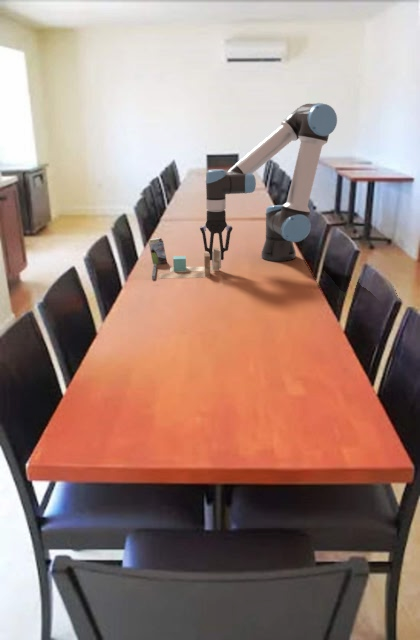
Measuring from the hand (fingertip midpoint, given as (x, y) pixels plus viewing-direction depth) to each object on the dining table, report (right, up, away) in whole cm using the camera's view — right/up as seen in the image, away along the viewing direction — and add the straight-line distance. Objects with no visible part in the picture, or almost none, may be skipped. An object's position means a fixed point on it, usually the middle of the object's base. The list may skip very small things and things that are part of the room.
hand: (216, 267), depth 231 cm
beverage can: (-25, +2, +11) cm, 27 cm away
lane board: (-13, -4, -4) cm, 14 cm away
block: (-15, -1, -1) cm, 15 cm away
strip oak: (-13, -5, -8) cm, 16 cm away
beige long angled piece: (-9, -2, 0) cm, 9 cm away
